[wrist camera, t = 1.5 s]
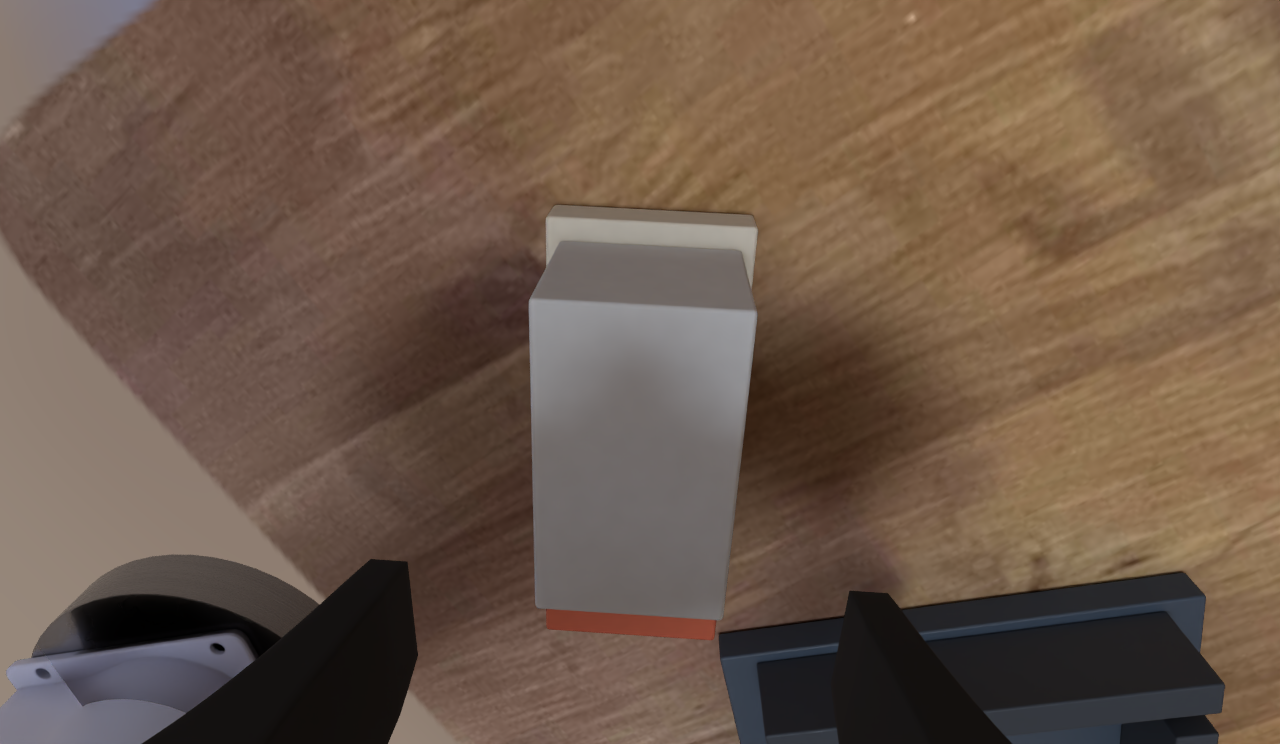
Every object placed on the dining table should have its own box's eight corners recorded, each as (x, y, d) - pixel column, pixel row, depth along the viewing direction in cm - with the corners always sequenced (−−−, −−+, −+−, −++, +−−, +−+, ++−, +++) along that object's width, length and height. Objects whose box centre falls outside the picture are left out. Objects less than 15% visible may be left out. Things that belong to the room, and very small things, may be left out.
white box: (716, 563, 22) (726, 708, 17) (555, 553, 22) (523, 694, 17) (754, 214, 17) (779, 285, 13) (553, 203, 18) (509, 270, 13)
